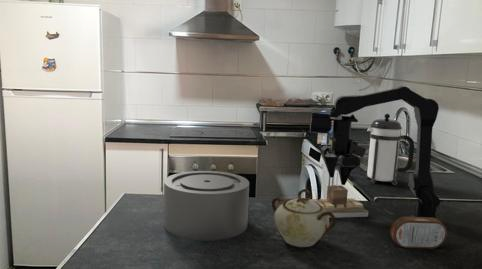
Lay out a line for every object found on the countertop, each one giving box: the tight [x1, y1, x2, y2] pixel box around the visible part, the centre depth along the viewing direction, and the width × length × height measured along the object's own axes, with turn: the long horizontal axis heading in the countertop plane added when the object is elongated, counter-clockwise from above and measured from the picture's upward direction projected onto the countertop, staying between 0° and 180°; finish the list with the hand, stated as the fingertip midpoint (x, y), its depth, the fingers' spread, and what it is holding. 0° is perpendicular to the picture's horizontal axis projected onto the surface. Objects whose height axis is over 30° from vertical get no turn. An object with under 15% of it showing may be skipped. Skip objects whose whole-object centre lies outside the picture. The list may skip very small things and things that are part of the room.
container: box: [163, 170, 250, 242], centre depth 126 cm, size 25×25×13 cm
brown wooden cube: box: [325, 184, 349, 205], centre depth 140 cm, size 5×5×5 cm
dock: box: [328, 209, 369, 219], centre depth 141 cm, size 9×19×2 cm, turn 101°
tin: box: [389, 216, 448, 250], centre depth 116 cm, size 15×3×8 cm, turn 92°
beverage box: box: [316, 110, 339, 146], centre depth 266 cm, size 7×11×22 cm, turn 136°
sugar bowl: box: [271, 188, 337, 248], centre depth 116 cm, size 20×15×15 cm
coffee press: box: [364, 113, 415, 186], centre depth 183 cm, size 17×16×30 cm
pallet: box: [310, 197, 365, 211], centre depth 141 cm, size 7×17×2 cm, turn 101°
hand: (337, 181), depth 140 cm, fingers open, 9 cm apart
